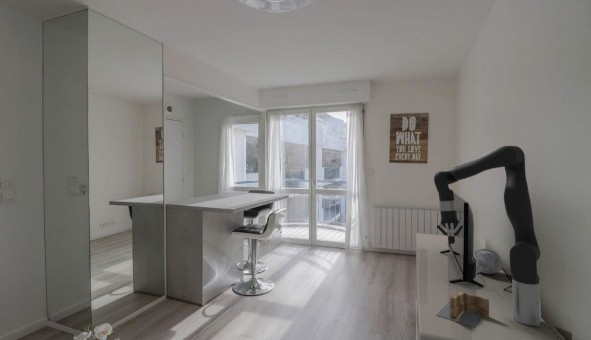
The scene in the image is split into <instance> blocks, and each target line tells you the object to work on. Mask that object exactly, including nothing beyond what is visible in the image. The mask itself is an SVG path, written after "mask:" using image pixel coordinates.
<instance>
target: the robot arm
mask: <svg viewBox="0 0 591 340" xmlns="http://www.w3.org/2000/svg"><path fill="white" fill-rule="evenodd" d="M497 168H504V170H505V171H504V172H505V178H506V182H505V186H504V187H505V188H504V191H503V203H504V208H505V213H506V217H507V218H508V221H509V222H510V224H511V227H512V229H513V233H514V245H513V246H512V247H510V250H509V268H510V269H509V270H510V273H511V278H512V279H511V282H512V284H511V285H512V290H511V291H512V318H513V320H515V321H516V322H517V323H520V324H523V325H526V326H531V327H532V326H533V327H540V326H541V323H542V311H541V310H542V307H541V306H542V303H541V295H540V293H541V291H540V276H539V275H538V268H537V267H538V261H539V260H540V257H541V250H540V246H539V243H538V240H537V236H536V232H535V228H534V227H535V226H534V215H533V208H532V202H531V198H530V197H531V196H530V192H529V187H528V186H529V185H528V181H527V175H526V156H525V153H524V151H523V149H522V148H520V146H516V145H504V146H501V147H499V148H497V149H495V150H493V151H491V152H490V153H488V154H486V155H484V156H482V157H480V158H477V159H474V160H471V161H468V162H466V163H465V162H464V163H462V164H460V165H456V166H455V167H453V168H452V169H449V170H446V171H443V170H441V171H437V172H436V173H435V174H434V176H433V177H434V178H433V182H434V185H435V188H436V190H437V192H438V198H439V200H438V201H439V212H440V221H439V222H440V223H439V224H438V225H436V228H437V229H438V231H440V233H442V234H443V235H444V236H446V237H447V238H448V243H450V245H454V244H455V242H456V236H458V235H459V234H460V232H461V231H462V230H463V228H464V226H465V224H462V223H460V221H459V220H458V213H457V205H456V200H455V194H454V190H452V189H450V186H449V185H452V184H454V183H457V182H459V181H461V180H462V181H463V180H465V179H468V178H472V177H474V176H476V175H478V174H480V173H481V174H482V172H485V171H489V170H493V169H497ZM457 227H458V228H457ZM456 228H457V230H456ZM455 231H456V232H455Z"/></svg>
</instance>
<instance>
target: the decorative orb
mask: <svg viewBox="0 0 591 340" xmlns="http://www.w3.org/2000/svg"><path fill="white" fill-rule="evenodd" d="M473 255H474V258H475V259H476V267H475V269H476V270H478V271H479V272H480V273H483V274H487V275H493V274H496V273H498V272H499V271H500V269H501V268H502V259H501V256H500V255H499V254H498V253H497V252H496V251H495V250H492V249H489V248H479V249H478V250H476V251H474V253H473Z"/></svg>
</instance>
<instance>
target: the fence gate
mask: <svg viewBox="0 0 591 340" xmlns="http://www.w3.org/2000/svg"><path fill="white" fill-rule="evenodd" d="M448 297H449V298H448V302H449V304H450V317H451V318H454V317H455V316H457V315H458V314H460V313H461V312H463V311H464V300H465V295H464V293H462V291H461V292H459V293H458V294H455V295H454V296H448Z"/></svg>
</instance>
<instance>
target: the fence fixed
mask: <svg viewBox="0 0 591 340" xmlns="http://www.w3.org/2000/svg"><path fill="white" fill-rule="evenodd" d="M461 292H462V291H461ZM462 293H464V295H465V300H464V311H469V312H472V313H476V314H479V315H482V316H481V317H484V318H488V319H489V318H490V300H489V299H490V298H487V297H483V296H479V295H476V294H470V293H467V292H464V291H463V292H462Z"/></svg>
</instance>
